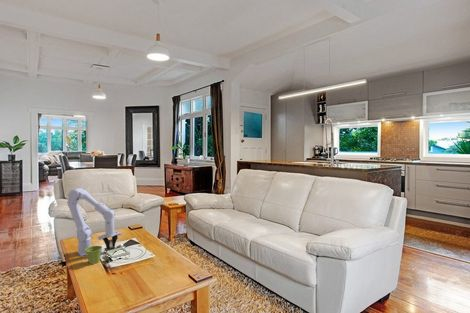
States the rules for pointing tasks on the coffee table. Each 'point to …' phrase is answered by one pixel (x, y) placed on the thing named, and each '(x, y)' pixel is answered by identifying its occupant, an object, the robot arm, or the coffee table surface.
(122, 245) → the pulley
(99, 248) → the plant pot
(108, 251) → the tray
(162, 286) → the coffee table surface
